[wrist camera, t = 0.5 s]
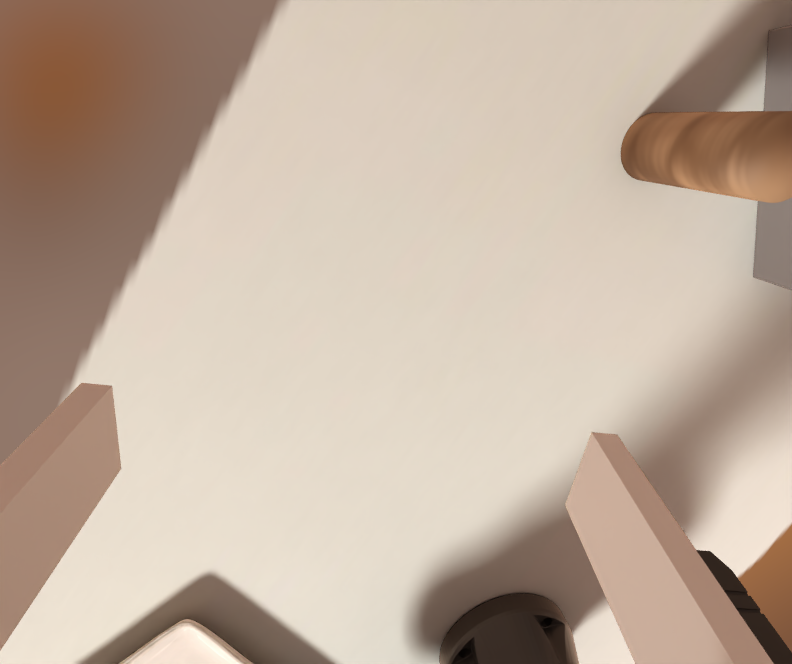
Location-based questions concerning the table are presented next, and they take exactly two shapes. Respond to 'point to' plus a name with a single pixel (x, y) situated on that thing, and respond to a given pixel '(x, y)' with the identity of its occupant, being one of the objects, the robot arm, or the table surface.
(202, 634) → the square plate
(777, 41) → the tote
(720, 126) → the walnut cylinder
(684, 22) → the table surface
